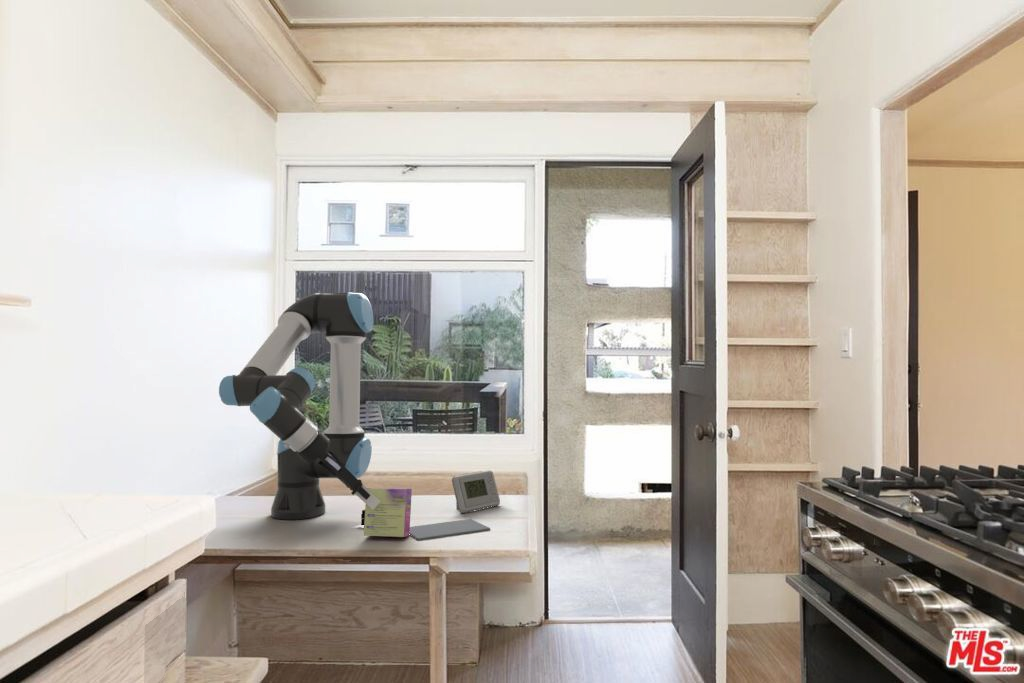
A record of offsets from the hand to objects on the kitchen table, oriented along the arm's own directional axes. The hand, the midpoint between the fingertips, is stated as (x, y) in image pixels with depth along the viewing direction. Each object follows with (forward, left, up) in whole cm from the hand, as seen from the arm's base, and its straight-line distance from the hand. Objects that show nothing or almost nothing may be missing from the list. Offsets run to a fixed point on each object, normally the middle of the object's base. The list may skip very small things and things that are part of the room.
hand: (376, 505), depth 165 cm
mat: (-1, +19, -9) cm, 21 cm away
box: (-1, +3, -8) cm, 9 cm away
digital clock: (-20, +37, -9) cm, 43 cm away
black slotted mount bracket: (-17, +4, -10) cm, 20 cm away
